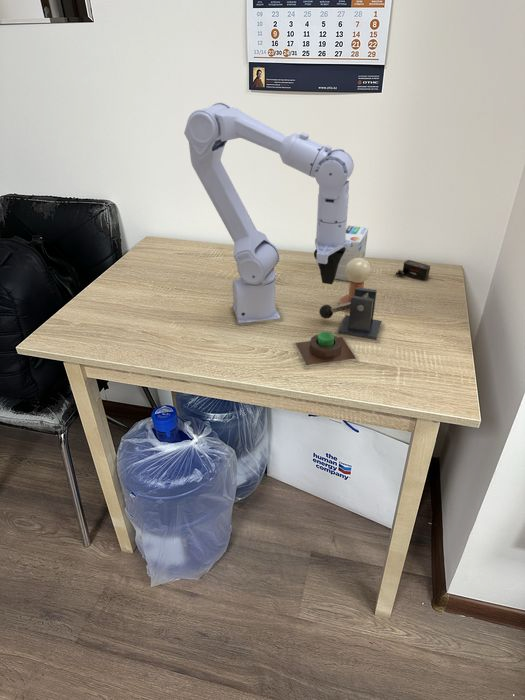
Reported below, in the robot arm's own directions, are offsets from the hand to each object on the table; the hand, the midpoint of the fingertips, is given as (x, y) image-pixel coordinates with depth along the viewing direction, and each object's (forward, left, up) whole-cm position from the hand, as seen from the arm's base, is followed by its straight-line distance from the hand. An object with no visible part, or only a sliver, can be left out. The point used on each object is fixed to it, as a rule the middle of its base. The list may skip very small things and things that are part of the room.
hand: (328, 282), depth 107 cm
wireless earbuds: (+29, +18, -11) cm, 36 cm away
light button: (-3, -10, -8) cm, 13 cm away
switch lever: (+4, -2, -7) cm, 8 cm away
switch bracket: (+7, -4, -10) cm, 13 cm away
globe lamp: (+9, +6, -10) cm, 15 cm away
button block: (-3, -10, -10) cm, 15 cm away
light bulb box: (+14, +24, -11) cm, 30 cm away
